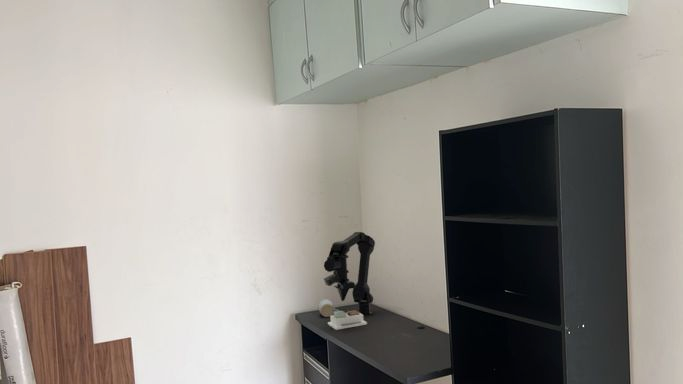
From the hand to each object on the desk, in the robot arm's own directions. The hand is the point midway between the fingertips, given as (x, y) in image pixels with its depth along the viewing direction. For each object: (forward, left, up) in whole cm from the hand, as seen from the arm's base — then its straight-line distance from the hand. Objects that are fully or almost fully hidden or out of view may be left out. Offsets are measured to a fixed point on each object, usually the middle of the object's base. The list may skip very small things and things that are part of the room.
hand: (342, 300), depth 264 cm
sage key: (0, -2, -8) cm, 9 cm away
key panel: (+1, +1, -11) cm, 12 cm away
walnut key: (0, +5, -9) cm, 11 cm away
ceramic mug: (-20, 0, -12) cm, 23 cm away
